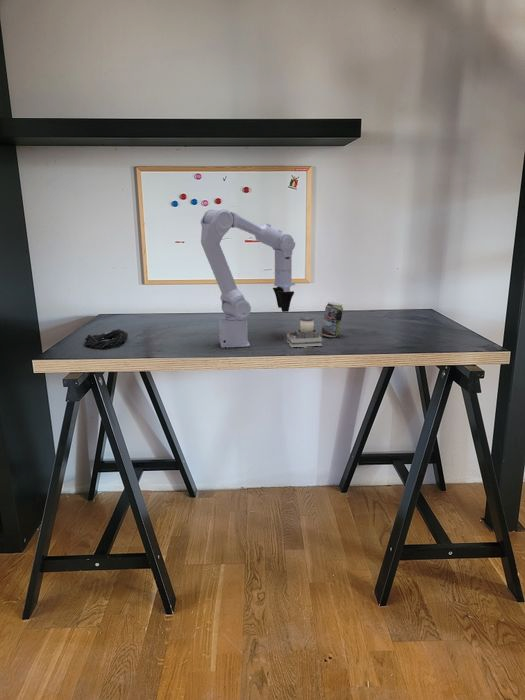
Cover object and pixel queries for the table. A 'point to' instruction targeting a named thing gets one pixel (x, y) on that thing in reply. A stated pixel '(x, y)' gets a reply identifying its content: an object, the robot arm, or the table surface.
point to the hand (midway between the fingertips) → (283, 309)
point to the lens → (306, 324)
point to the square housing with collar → (304, 338)
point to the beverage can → (332, 319)
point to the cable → (115, 334)
